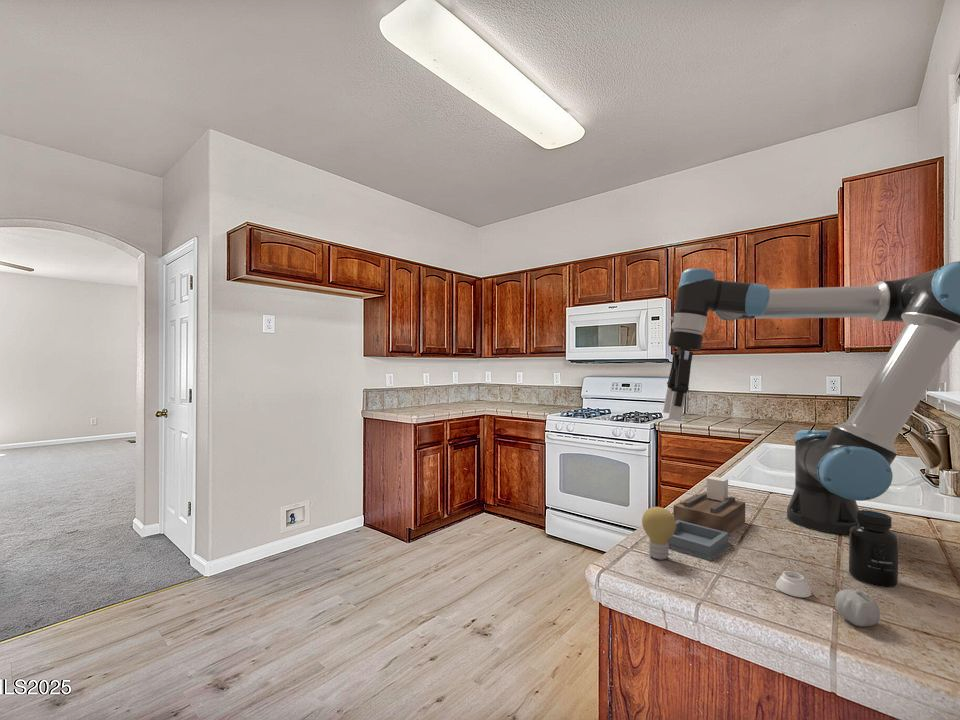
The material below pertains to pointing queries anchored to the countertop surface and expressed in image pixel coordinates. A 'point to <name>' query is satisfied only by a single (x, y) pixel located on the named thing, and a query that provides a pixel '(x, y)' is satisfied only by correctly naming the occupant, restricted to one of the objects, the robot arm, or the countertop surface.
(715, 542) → the tray
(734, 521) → the switch box
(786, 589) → the white conical ring
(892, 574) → the supplement bottle
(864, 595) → the garlic
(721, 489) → the toggle
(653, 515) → the light bulb
